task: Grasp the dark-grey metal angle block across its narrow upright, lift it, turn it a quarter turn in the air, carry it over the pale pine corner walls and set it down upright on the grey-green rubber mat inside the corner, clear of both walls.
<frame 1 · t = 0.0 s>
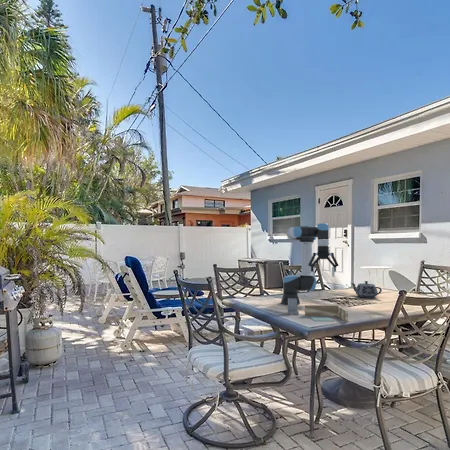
hand: (323, 276, 227), 28 cm above the table, fingers open, 13 cm apart
angle block: (293, 313, 239), on the table
wooden corner frame: (325, 317, 225), on the table
teapot: (365, 297, 308), on the table
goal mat: (321, 319, 221), on the table
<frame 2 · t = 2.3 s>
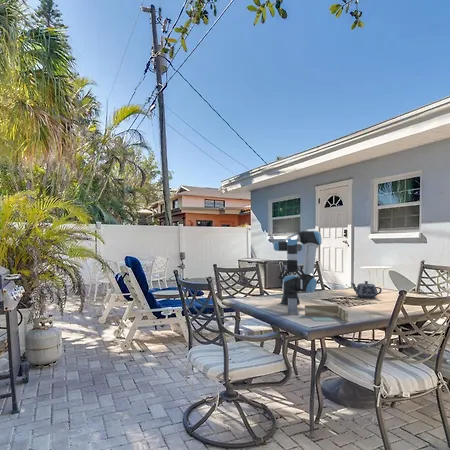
hand: (292, 288, 242), 17 cm above the table, fingers open, 13 cm apart
nothing on the table moved.
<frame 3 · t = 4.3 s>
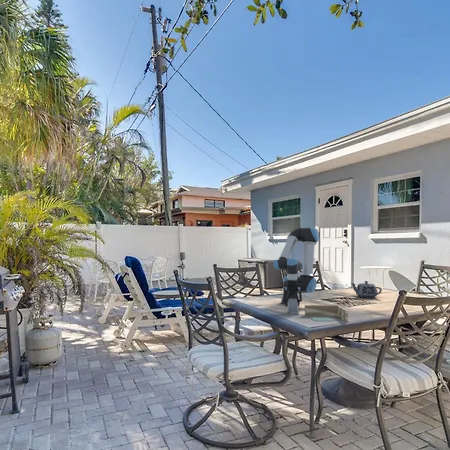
hand: (292, 311, 241), 1 cm above the table, fingers closed on angle block, 6 cm apart
angle block: (293, 313, 239), on the table, touching gripper
everything else where it was.
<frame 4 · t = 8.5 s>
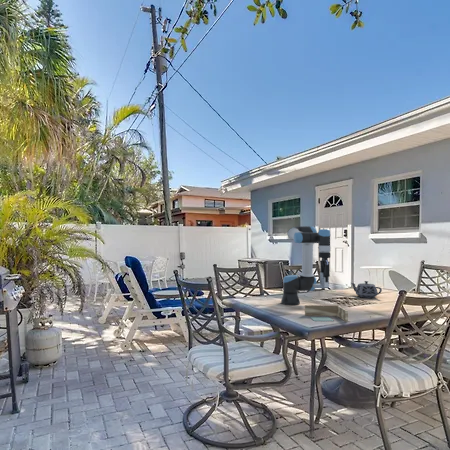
hand: (324, 286, 222), 22 cm above the table, fingers closed on angle block, 6 cm apart
angle block: (320, 287, 222), point 21 cm above the table, touching gripper
everything else where it was.
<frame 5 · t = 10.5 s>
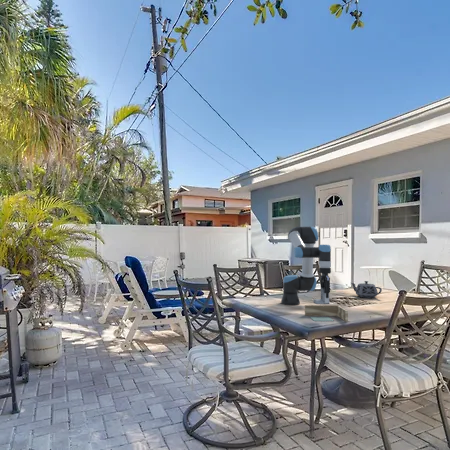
hand: (325, 301, 221), 12 cm above the table, fingers closed on angle block, 6 cm apart
angle block: (321, 303, 221), point 11 cm above the table, touching gripper
everything else where it was.
when the fingers open (3 cm above the table, at t = 12.5 s): angle block drops 2 cm, resting on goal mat.
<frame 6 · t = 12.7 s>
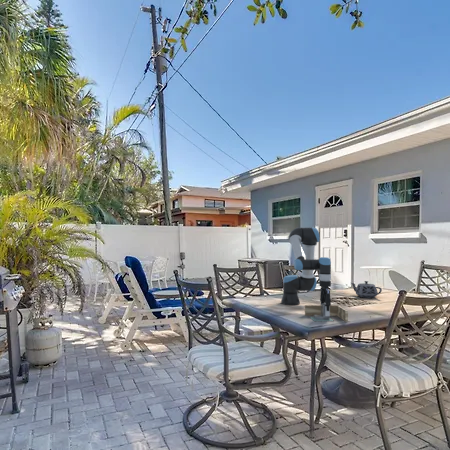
hand: (325, 314, 221), 3 cm above the table, fingers open, 8 cm apart
angle block: (321, 318, 221), resting on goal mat
everything else where it was.
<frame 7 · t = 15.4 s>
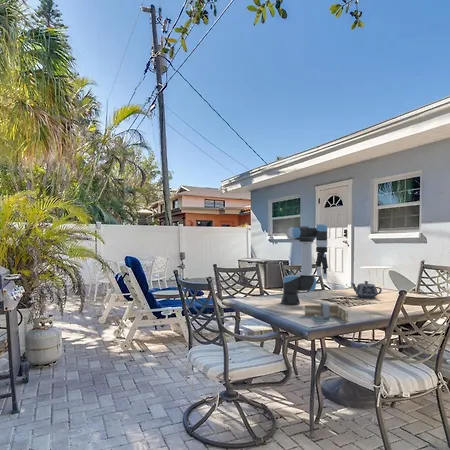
hand: (321, 277, 229), 27 cm above the table, fingers open, 13 cm apart
nothing on the table moved.
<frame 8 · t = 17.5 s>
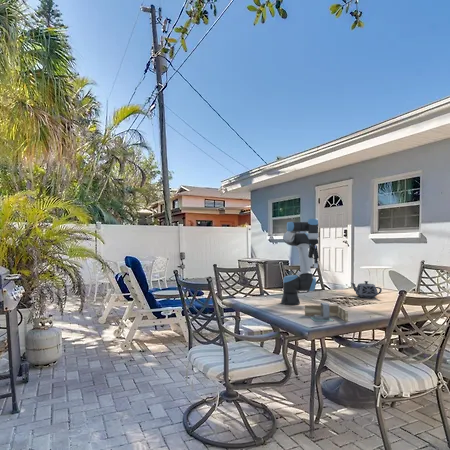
hand: (313, 267, 248), 33 cm above the table, fingers open, 13 cm apart
nothing on the table moved.
at the end: angle block inside the target area (0.2 cm from its centre), resting on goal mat; angle block tilted 0°; angle block touching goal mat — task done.
